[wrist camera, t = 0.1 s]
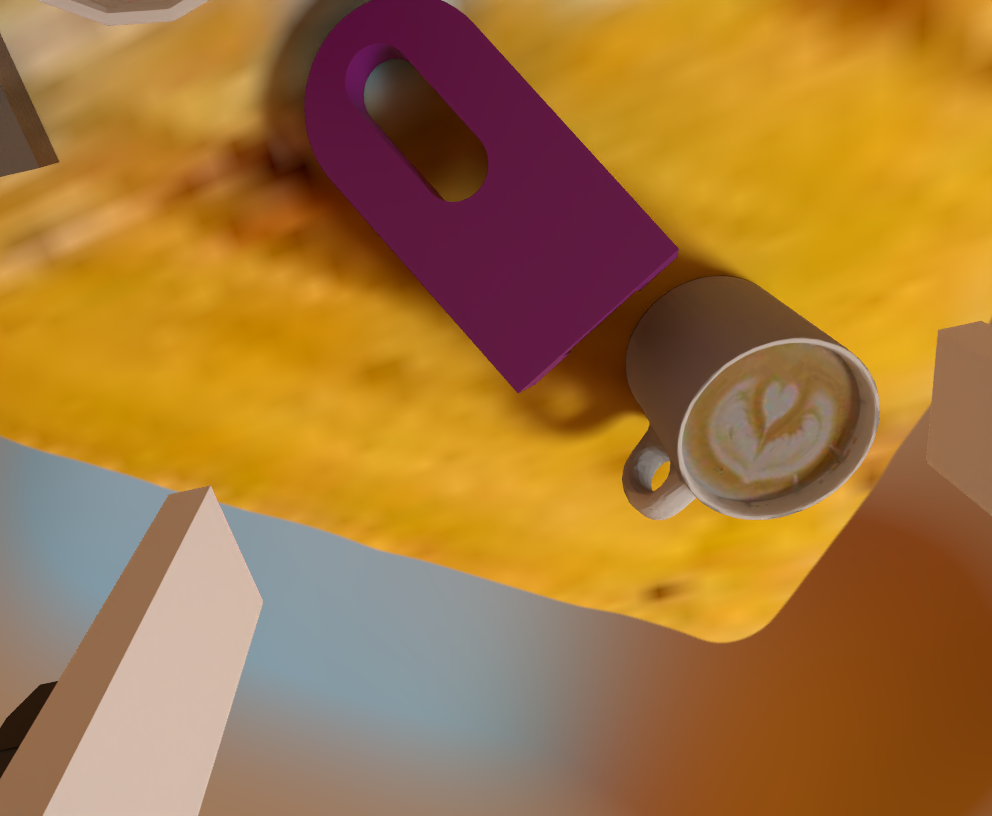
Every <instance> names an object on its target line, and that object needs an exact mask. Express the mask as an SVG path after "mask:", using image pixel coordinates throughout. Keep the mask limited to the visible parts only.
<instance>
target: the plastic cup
mask: <svg viewBox="0 0 992 816" xmlns="http://www.w3.org/2000/svg"><path fill="white" fill-rule="evenodd" d="M39 1H40V2H43V3H46V4H48V5H51V6H54V7H57V8H60V9H63V10H65V11H68V12H71V13H74V14H77V15H79V16H82V17H85V18H88V19H91V20H93V21H96V22H99V23H102V24H105V25H108V26H113V25H127V24H141V23H155V22H169V21H175V20H177V19H178V18H180V17H182V16H183V15H185V14H187V13H188V12H190V11H192V10H193V9H195V8H197V7H199V6H200V5H202V4H204V3H205V2H207V1H209V0H39Z"/></svg>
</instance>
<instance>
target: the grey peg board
mask: <svg viewBox="0 0 992 816" xmlns="http://www.w3.org/2000/svg"><path fill="white" fill-rule="evenodd" d="M58 162H59V160H58V158H57V156H56V154H55V152H54V149H53V147H52V145H51V143H50V141H49V139H48V136H47V134H46V132H45V130H44V128H43V126H42V123H41V121H40V119H39V117H38V115H37V113H36V110H35V108H34V106H33V104H32V102H31V100H30V97H29V95H28V93H27V91H26V89H25V87H24V84H23V82H22V80H21V78H20V76H19V73H18V71H17V69H16V67H15V65H14V63H13V60H12V58H11V56H10V54H9V52H8V50H7V47H6V45H5V43H4V41H3V39H2V37H1V34H0V177H2V176H6V175H10V174H15V173H19V172H24V171H28V170H32V169H37V168H41V167H44V166H48V165H51V164H54V163H58Z"/></svg>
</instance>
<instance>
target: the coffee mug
mask: <svg viewBox="0 0 992 816" xmlns="http://www.w3.org/2000/svg"><path fill="white" fill-rule="evenodd" d="M626 375H627V380H628V384H629V387H630V390H631V392H632V394H633V396H634V398H635V399H636V401H637V402H638V403H639V405H640V406H641V408H642V410H643V411H644V413H645V415H646V417H647V418H648V420H649V422H650V425H649V428H648V431H647V432H646V434H645V435H644V436H643V438H642V439H641V441H640V442H639V443H638V445H637V446H636V447H635V449H634V450H633V451H632V453H631V455H630V456H629V458H628V459H627V461H626V463H625V466H624V470H623V476H622V482H623V488H624V492H625V494H626V496H627V498H628V500H629V502H630V504H631V505H632V506H633V507H634V508H635V509H637V510H638V511H639V512H640V513H642V514H643V515H644V516H646V517H648V518H650V519H653V520H664V519H667V518H670V517H672V516H674V515H676V514H677V513H678V512H680V511H681V510H682V509H684V508H685V507H686V506H687V505H688V504H690V503H691V502H692V501H693V500H694V499H695V498H698V499H699V500H700V501H701V502H702V503H703V504H705V505H707V506H708V507H710V508H711V509H713V510H715V511H717V512H719V513H722V514H724V515H728V516H731V517H735V518H740V519H748V520H762V519H774V518H779V517H783V516H787V515H790V514H793V513H796V512H799V511H802V510H804V509H807V508H809V507H811V506H813V505H815V504H817V503H818V502H820V501H822V500H823V499H825V498H826V497H828V496H829V495H831V494H832V493H833V492H835V491H836V490H837V489H839V488H840V487H841V486H842V485H843V484H844V483H845V482H846V481H847V480H848V479H849V478H850V477H851V476H852V474H853V473H854V472H855V471H856V470H857V469H858V468H859V466H860V465H861V463H862V462H863V460H864V459H865V457H866V455H867V453H868V451H869V449H870V447H871V445H872V443H873V441H874V438H875V434H876V431H877V427H878V424H879V413H880V406H879V396H878V392H877V388H876V385H875V382H874V380H873V378H872V376H871V374H870V372H869V371H868V369H867V368H866V366H865V365H864V364H863V363H862V361H861V360H860V359H859V358H858V357H856V356H855V355H854V354H853V353H851V352H850V351H849V350H848V349H847V348H845V347H844V346H842V345H841V344H840V343H838V342H837V341H835V340H834V339H833V338H831V337H830V336H828V335H827V334H826V333H824V332H823V331H821V330H820V329H819V328H817V327H816V326H814V325H813V324H812V323H810V322H809V321H807V320H806V319H805V318H803V317H802V316H800V315H799V314H798V313H796V312H795V311H793V310H792V309H790V308H789V307H788V306H786V305H785V304H783V303H782V302H781V301H779V300H778V299H776V298H775V297H774V296H772V295H771V294H769V293H768V292H767V291H765V290H764V289H762V288H761V287H759V286H758V285H756V284H754V283H752V282H750V281H747V280H744V279H741V278H736V277H731V276H709V277H703V278H699V279H696V280H693V281H690V282H687V283H684V284H682V285H680V286H677V287H676V288H674V289H672V290H671V291H669V292H668V293H666V294H665V295H663V296H662V297H661V298H660V299H658V300H657V301H656V302H655V303H654V304H653V305H652V306H651V307H650V308H649V309H648V311H647V312H646V313H645V314H644V315H643V316H642V318H641V319H640V321H639V322H638V324H637V326H636V328H635V330H634V332H633V334H632V336H631V339H630V342H629V345H628V350H627V355H626ZM667 461H670V463H671V464H670V472H669V475H668V478H667V479H666V480H665V482H664V483H663V484H662V486H661V487H659V488H658V489H657V490H655V491H652V487H651V482H652V478H653V476H654V474H655V472H656V470H657V469H658V468H659V467H660V466H661V465H662V464H663V463H664V462H667Z"/></svg>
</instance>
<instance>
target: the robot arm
mask: <svg viewBox="0 0 992 816" xmlns="http://www.w3.org/2000/svg"><path fill="white" fill-rule="evenodd" d="M926 462H927V463H928V464H929V465H931V466H932V467H933V468H934V469H935V470H937V471H938V472H939V473H940V474H941V475H943V476H944V477H945V478H946V479H947V480H949V481H950V482H951V483H952V484H953V485H955V486H956V487H957V488H958V489H960V490H961V491H962V492H963V493H964V494H966V495H967V496H968V497H969V498H970V499H972V500H973V501H974V502H975V503H976V504H978V505H979V506H980V507H981V508H982V509H984V510H985V511H986V512H988V513H989V514H990V515H991V516H992V326H991V325H989V324H987V323H984V322H982V321H979V322H974V323H969V324H965V325H960V326H955V327H951V328H946V329H941V330H938V338H937V349H936V360H935V371H934V382H933V393H932V404H931V415H930V427H929V437H928V449H927V460H926ZM262 604H263V600H262V598H261V596H260V594H259V592H258V590H257V587H256V585H255V583H254V581H253V579H252V576H251V574H250V572H249V570H248V567H247V565H246V563H245V561H244V559H243V556H242V554H241V552H240V550H239V548H238V545H237V543H236V541H235V539H234V536H233V534H232V532H231V530H230V528H229V525H228V523H227V521H226V519H225V516H224V514H223V512H222V510H221V508H220V505H219V503H218V501H217V499H216V497H215V494H214V492H213V490H212V488H211V486H207V487H202V488H198V489H193V490H188V491H184V492H179V493H174V494H170V495H168V497H167V499H166V501H165V502H164V504H163V505H162V507H161V509H160V510H159V512H158V514H157V515H156V517H155V519H154V521H153V522H152V524H151V526H150V527H149V529H148V531H147V532H146V534H145V536H144V537H143V539H142V541H141V542H140V544H139V546H138V548H137V550H136V551H135V553H134V554H133V556H132V558H131V559H130V561H129V563H128V565H127V566H126V568H125V569H124V571H123V573H122V575H121V576H120V578H119V580H118V581H117V583H116V585H115V586H114V588H113V590H112V591H111V593H110V595H109V596H108V598H107V600H106V602H105V603H104V605H103V607H102V608H101V610H100V612H99V614H98V615H97V617H96V618H95V620H94V622H93V624H92V625H91V627H90V628H89V630H88V632H87V634H86V635H85V637H84V639H83V640H82V642H81V644H80V645H79V647H78V649H77V650H76V652H75V654H74V655H73V657H72V659H71V661H70V662H69V664H68V666H67V667H66V669H65V671H64V672H63V674H62V676H61V677H60V679H59V681H56V682H51V683H46V684H41V685H40V686H38V688H36V689H35V690H34V691H33V692H32V693H31V694H30V695H29V696H28V698H26V699H25V700H24V701H23V702H22V703H21V704H20V705H19V706H18V707H17V708H16V709H15V710H14V711H13V712H12V713H11V714H10V715H9V716H8V717H7V718H6V720H5V722H4V723H3V725H2V726H1V728H0V816H198V814H199V810H200V807H201V804H202V801H203V797H204V794H205V791H206V787H207V784H208V781H209V777H210V774H211V771H212V768H213V765H214V761H215V758H216V755H217V751H218V748H219V745H220V742H221V738H222V735H223V732H224V729H225V725H226V722H227V719H228V715H229V712H230V709H231V706H232V702H233V699H234V695H235V693H236V689H237V686H238V683H239V679H240V676H241V673H242V669H243V666H244V663H245V659H246V657H247V653H248V650H249V647H250V643H251V640H252V637H253V634H254V630H255V627H256V624H257V621H258V617H259V614H260V610H261V607H262Z"/></svg>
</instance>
